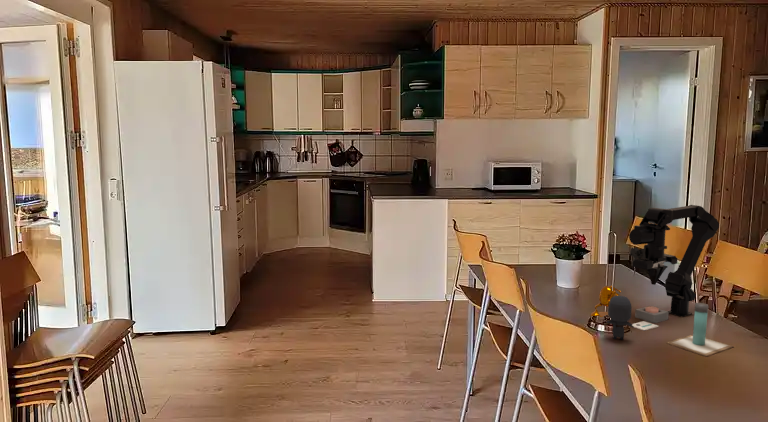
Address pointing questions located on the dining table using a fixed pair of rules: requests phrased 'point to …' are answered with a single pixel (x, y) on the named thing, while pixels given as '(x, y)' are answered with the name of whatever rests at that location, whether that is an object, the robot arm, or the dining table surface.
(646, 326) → the card
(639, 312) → the button box
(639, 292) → the dining table surface
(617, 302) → the toy
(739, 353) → the dining table surface
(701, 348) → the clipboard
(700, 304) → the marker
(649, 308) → the button
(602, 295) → the figurine
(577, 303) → the dining table surface
